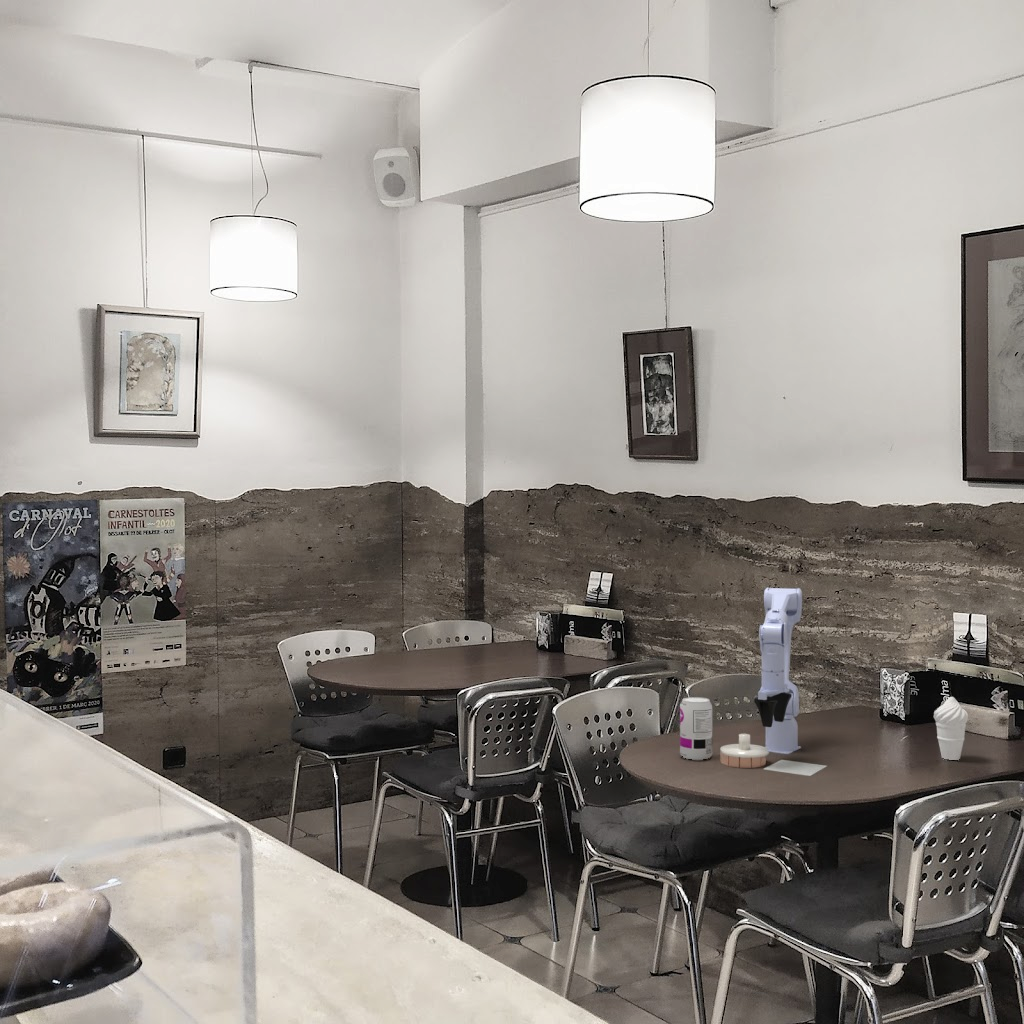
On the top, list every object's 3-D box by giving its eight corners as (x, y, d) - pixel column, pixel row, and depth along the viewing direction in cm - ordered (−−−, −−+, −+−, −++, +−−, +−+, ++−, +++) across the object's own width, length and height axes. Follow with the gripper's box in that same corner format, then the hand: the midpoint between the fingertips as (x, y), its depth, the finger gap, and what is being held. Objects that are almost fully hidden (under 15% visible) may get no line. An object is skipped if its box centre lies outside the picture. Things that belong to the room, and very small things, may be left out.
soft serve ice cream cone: (960, 764, 291) (960, 701, 290) (927, 759, 296) (928, 697, 296) (973, 758, 297) (973, 696, 296) (941, 753, 302) (941, 692, 302)
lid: (732, 744, 301) (732, 728, 301) (776, 750, 294) (776, 733, 294) (712, 753, 291) (712, 736, 291) (757, 759, 284) (757, 742, 284)
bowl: (731, 756, 300) (731, 745, 300) (772, 762, 294) (772, 750, 294) (713, 765, 291) (713, 753, 291) (754, 771, 285) (754, 759, 285)
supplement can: (677, 759, 298) (676, 701, 298) (684, 752, 305) (684, 696, 305) (708, 762, 295) (708, 703, 295) (715, 755, 302) (714, 697, 302)
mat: (781, 761, 295) (781, 759, 295) (827, 767, 288) (827, 765, 288) (762, 770, 285) (762, 769, 285) (809, 777, 279) (809, 775, 278)
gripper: (777, 675, 285) (777, 730, 285) (798, 668, 297) (798, 720, 297) (750, 673, 289) (750, 727, 289) (772, 665, 301) (772, 718, 301)
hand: (773, 724), depth 293 cm, fingers open, 7 cm apart
